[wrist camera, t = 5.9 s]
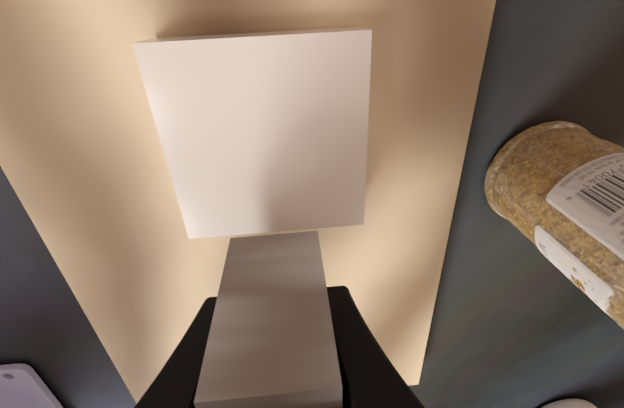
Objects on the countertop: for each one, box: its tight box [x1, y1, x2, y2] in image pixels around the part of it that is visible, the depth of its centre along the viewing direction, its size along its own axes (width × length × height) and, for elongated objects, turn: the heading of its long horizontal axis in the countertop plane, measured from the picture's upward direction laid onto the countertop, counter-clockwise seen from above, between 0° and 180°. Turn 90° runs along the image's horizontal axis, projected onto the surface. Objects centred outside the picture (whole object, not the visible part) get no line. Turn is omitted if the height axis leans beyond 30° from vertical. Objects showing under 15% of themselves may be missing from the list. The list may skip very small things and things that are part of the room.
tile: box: [132, 27, 372, 239], centre depth 11 cm, size 6×2×6 cm
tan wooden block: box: [194, 231, 343, 408], centre depth 9 cm, size 3×3×5 cm
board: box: [0, 0, 496, 404], centre depth 15 cm, size 16×20×1 cm
